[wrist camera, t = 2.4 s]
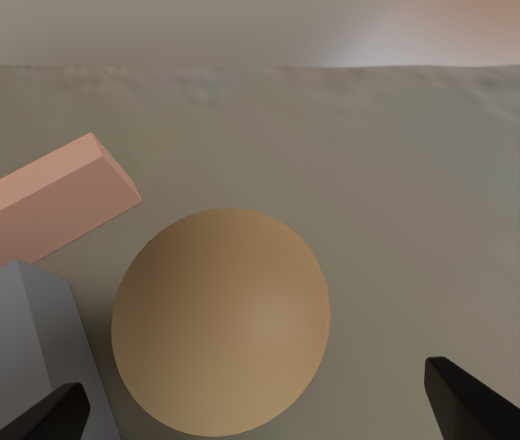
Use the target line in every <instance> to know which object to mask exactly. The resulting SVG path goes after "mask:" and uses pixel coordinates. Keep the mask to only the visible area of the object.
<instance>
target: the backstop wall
mask: <svg viewBox="0 0 520 440" xmlns="http://www.w3.org/2000/svg"><path fill="white" fill-rule="evenodd" d="M142 201H143V200H142V199H141V197H140V195H139V193H138V191H137V189H136V187H135V185H134V183H133V181H132V180H131V178H130V177H129V176H128V175H127V174H126V173H125V171H124V170H123V169H122V168H121V167H120V165H119V164H118V163H117V162H116V161H115V160H114V158H113V157H112V156H111V155H110V154H109V153H108V151H107V150H106V149H105V148H104V147H103V145H102V144H101V143H100V142H99V141H98V140H97V138H96V137H95V136H94V135H93V134H92V133H91V132H90V133H88V134H86V135H84V136H82V137H81V138H79V139H77V140H75V141H73V142H71V143H69V144H67V145H65V146H63V147H61V148H59V149H57V150H55V151H54V152H52V153H50V154H48V155H46V156H44V157H42V158H40V159H38V160H36V161H34V162H32V163H30V164H29V165H27V166H25V167H23V168H21V169H19V170H17V171H15V172H13V173H11V174H9V175H7V176H5V177H3V178H2V179H0V267H2V266H4V265H5V264H7V263H9V262H11V261H13V260H14V259H16V258H17V259H20V260H22V261H24V262H27V263H29V264H32V263H34V262H36V261H38V260H39V259H41V258H43V257H45V256H47V255H48V254H50V253H52V252H54V251H55V250H57V249H59V248H61V247H63V246H64V245H66V244H68V243H70V242H71V241H73V240H75V239H77V238H79V237H80V236H82V235H84V234H86V233H87V232H89V231H91V230H93V229H95V228H96V227H98V226H100V225H102V224H103V223H105V222H107V221H109V220H111V219H112V218H114V217H116V216H118V215H119V214H121V213H123V212H125V211H126V210H128V209H130V208H132V207H134V206H135V205H137V204H139V203H141V202H142Z"/></svg>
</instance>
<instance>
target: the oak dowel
mask: <svg viewBox="0 0 520 440" xmlns="http://www.w3.org/2000/svg"><path fill="white" fill-rule="evenodd" d="M330 314H331V310H330V299H329V293H328V288H327V284H326V280H325V278H324V275H323V272H322V269H321V267H320V265H319V263H318V262H317V260H316V258H315V256H314V254H313V253H312V252H311V250H310V249H309V247H308V246H307V245H306V244H305V243H304V241H303V240H302V239H301V238H300V237H299V236H298V235H297V234H296V233H294V232H293V231H292V230H291V229H290V228H288V227H287V226H285V225H284V224H282V223H281V222H279V221H277V220H275V219H273V218H271V217H269V216H267V215H264V214H261V213H258V212H255V211H250V210H245V209H235V208H223V209H213V210H207V211H203V212H199V213H196V214H192V215H190V216H188V217H185V218H183V219H181V220H179V221H177V222H175V223H173V224H172V225H170V226H168V227H167V228H165V229H164V230H163V231H161V232H160V233H158V234H157V235H156V236H155V237H154V238H153V239H152V240H150V241H149V242H148V243H147V244H146V246H145V247H144V248H143V249H142V250H141V251H140V252H139V253H138V255H137V256H136V258H135V259H134V260H133V262H132V263H131V265H130V267H129V268H128V270H127V272H126V274H125V275H124V278H123V280H122V282H121V284H120V287H119V289H118V293H117V296H116V299H115V303H114V308H113V314H112V325H111V337H112V348H113V353H114V358H115V362H116V365H117V368H118V371H119V374H120V376H121V378H122V380H123V382H124V384H125V386H126V388H127V389H128V391H129V392H130V394H131V395H132V396H133V398H134V399H135V401H136V402H137V403H138V404H139V405H140V406H141V407H142V408H143V409H144V410H145V411H146V412H147V413H149V414H150V415H151V416H153V417H154V418H155V419H156V420H158V421H159V422H161V423H163V424H165V425H167V426H169V427H171V428H173V429H175V430H178V431H181V432H184V433H187V434H192V435H198V436H212V437H220V436H227V435H234V434H239V433H242V432H245V431H249V430H252V429H254V428H256V427H258V426H260V425H263V424H265V423H267V422H269V421H270V420H272V419H273V418H275V417H276V416H278V415H279V414H281V413H282V412H283V411H284V410H285V409H287V408H288V407H289V406H290V405H291V404H292V403H293V402H294V401H295V400H296V399H297V398H298V397H299V396H300V395H301V393H302V392H303V391H304V390H305V389H306V387H307V386H308V384H309V383H310V381H311V379H312V378H313V376H314V375H315V373H316V371H317V369H318V367H319V364H320V362H321V360H322V358H323V355H324V351H325V348H326V345H327V341H328V335H329V330H330Z"/></svg>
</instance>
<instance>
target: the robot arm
mask: <svg viewBox="0 0 520 440" xmlns="http://www.w3.org/2000/svg"><path fill="white" fill-rule="evenodd" d="M424 386H425V390H426V394H427V396H428V399H429V402H430V404H431V407H432V410H433V412H434V415H435V418H436V420H437V423H438V425H439V428H440V431H441V433H442V436H443V439H444V440H520V408H518V407H517V406H515V405H514V404H512V403H511V402H509V401H508V400H507V399H505V398H504V397H502V396H501V395H499V394H498V393H496V392H495V391H494V390H492V389H491V388H489V387H488V386H486V385H485V384H483V383H482V382H481V381H479V380H478V379H476V378H475V377H473V376H472V375H470V374H469V373H468V372H466V371H465V370H463V369H462V368H460V367H459V366H457V365H456V364H455V363H453V362H452V361H450V360H449V359H447V358H446V357H443V356H437V357H428V358H427V359H426V361H425V377H424ZM90 408H91V407H90V402H89V400H88V397H87V394H86V392H85V389H84V387H83V385H82V384H81V383H80V382H70V383H64V384H63V385H61V386H60V387H58V388H57V389H56V390H54V391H53V392H51V393H50V394H49V395H47V396H46V397H45V398H43V399H42V400H40V401H39V402H38V403H36V404H35V405H34V406H32V407H31V408H29V409H28V410H27V411H25V412H24V413H23V414H21V415H20V416H18V417H17V418H16V419H14V420H13V421H12V422H10V423H9V424H7V425H6V426H5V427H3V428H2V429H1V430H0V440H81V437H82V435H83V432H84V429H85V426H86V423H87V420H88V418H89V415H90Z"/></svg>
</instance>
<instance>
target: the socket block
mask: <svg viewBox="0 0 520 440" xmlns="http://www.w3.org/2000/svg"><path fill="white" fill-rule="evenodd" d="M70 382H80V383H81V384H82V385H83V387H84V389H85V392H86V394H87V397H88V400H89V402H90V407H91V408H90V415H89V418H88V420H87V423H86V426H85V429H84V432H83V435H82V437H81V440H121V437H120V434H119V431H118V428H117V425H116V423H115V420H114V417H113V414H112V411H111V408H110V405H109V402H108V399H107V396H106V393H105V390H104V387H103V384H102V381H101V378H100V375H99V372H98V369H97V366H96V363H95V360H94V357H93V354H92V351H91V348H90V345H89V342H88V339H87V336H86V334H85V331H84V328H83V325H82V322H81V319H80V316H79V313H78V310H77V307H76V304H75V301H74V298H73V295H72V292H71V289H70V286H69V283H68V280H66V279H64V278H62V277H59V276H57V275H55V274H52V273H50V272H48V271H45V270H43V269H41V268H38V267H36V266H34V265H31V264H29V263H27V262H24V261H22V260H20V259H17V258H16V259H14V260H13V261H11V262H9V263H7V264H5V265H4V266H2V267H0V430H1V429H2V428H3V427H5V426H6V425H7V424H9V423H10V422H12V421H13V420H14V419H16V418H17V417H18V416H20V415H21V414H23V413H24V412H25V411H27V410H28V409H29V408H31V407H32V406H34V405H35V404H36V403H38V402H39V401H40V400H42V399H43V398H45V397H46V396H47V395H49V394H50V393H51V392H53V391H54V390H56V389H57V388H58V387H60V386H61V385H63V384H64V383H70Z"/></svg>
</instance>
